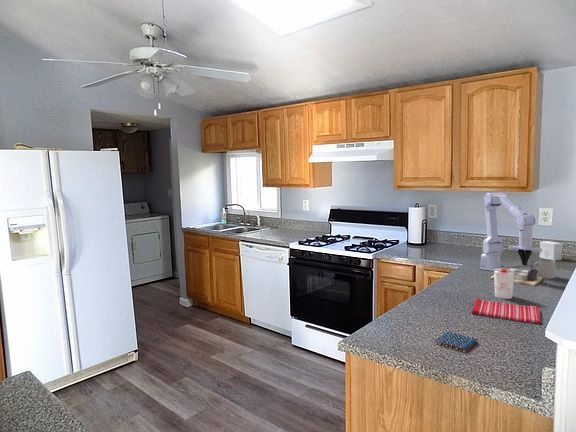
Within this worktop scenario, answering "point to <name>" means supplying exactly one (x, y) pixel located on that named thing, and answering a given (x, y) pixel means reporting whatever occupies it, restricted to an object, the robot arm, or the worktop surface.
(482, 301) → the dish towel
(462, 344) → the woven mat
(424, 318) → the worktop surface
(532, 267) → the retention strap
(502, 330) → the worktop surface
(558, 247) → the skincare box
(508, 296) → the canister
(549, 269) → the cup
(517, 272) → the board
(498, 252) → the robot arm
